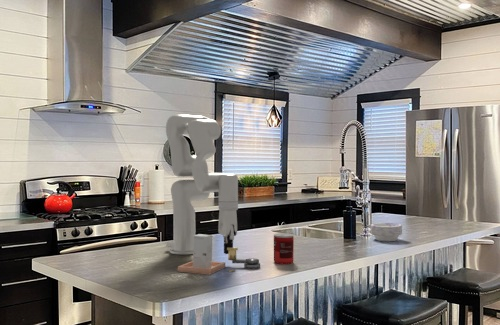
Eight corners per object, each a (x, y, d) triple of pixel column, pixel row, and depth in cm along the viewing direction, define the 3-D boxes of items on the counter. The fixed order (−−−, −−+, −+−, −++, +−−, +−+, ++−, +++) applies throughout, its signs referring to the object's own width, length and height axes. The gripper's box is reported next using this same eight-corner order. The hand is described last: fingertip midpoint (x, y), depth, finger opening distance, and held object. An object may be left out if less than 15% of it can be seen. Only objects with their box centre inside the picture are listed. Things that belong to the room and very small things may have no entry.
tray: (177, 271, 184) (177, 266, 184) (195, 264, 196) (195, 259, 196) (209, 274, 179) (209, 269, 179) (225, 267, 191) (225, 262, 191)
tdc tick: (229, 272, 182) (229, 271, 182) (228, 271, 183) (228, 270, 183) (234, 271, 184) (234, 270, 184) (232, 270, 184) (232, 270, 184)
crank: (259, 261, 193) (259, 246, 193) (258, 264, 188) (258, 248, 188) (227, 261, 193) (227, 246, 193) (226, 264, 188) (226, 248, 188)
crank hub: (241, 268, 189) (241, 264, 189) (248, 265, 194) (248, 261, 194) (256, 269, 187) (256, 265, 187) (262, 266, 192) (262, 262, 192)
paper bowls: (364, 240, 254) (364, 224, 254) (381, 236, 264) (381, 221, 264) (390, 243, 243) (390, 227, 243) (408, 240, 253) (408, 224, 253)
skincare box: (192, 268, 187) (192, 235, 187) (198, 265, 191) (198, 233, 191) (206, 269, 184) (206, 236, 184) (212, 267, 188) (212, 234, 188)
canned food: (281, 259, 205) (281, 232, 205) (297, 262, 200) (297, 234, 200) (269, 262, 199) (269, 234, 199) (286, 265, 194) (286, 236, 194)
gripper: (213, 204, 201) (213, 250, 201) (224, 208, 187) (224, 257, 187) (231, 204, 204) (231, 249, 204) (243, 207, 190) (244, 256, 190)
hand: (228, 253), depth 195 cm, fingers closed
